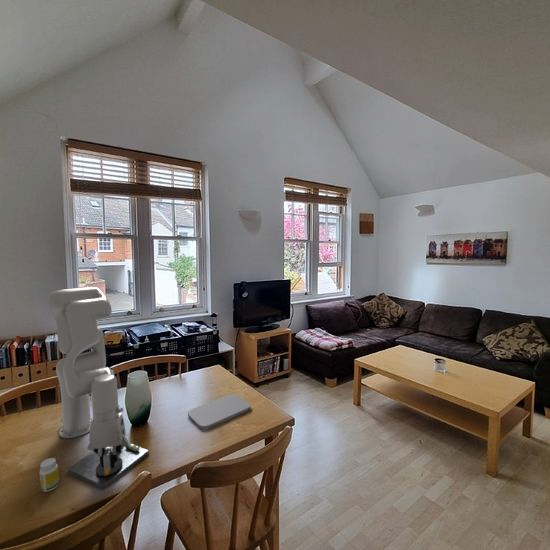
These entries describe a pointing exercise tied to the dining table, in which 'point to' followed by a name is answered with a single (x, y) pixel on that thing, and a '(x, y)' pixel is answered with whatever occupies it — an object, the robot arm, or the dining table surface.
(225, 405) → the tablet
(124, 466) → the base plate
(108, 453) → the level dial
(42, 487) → the supplement bottle
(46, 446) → the dining table surface
